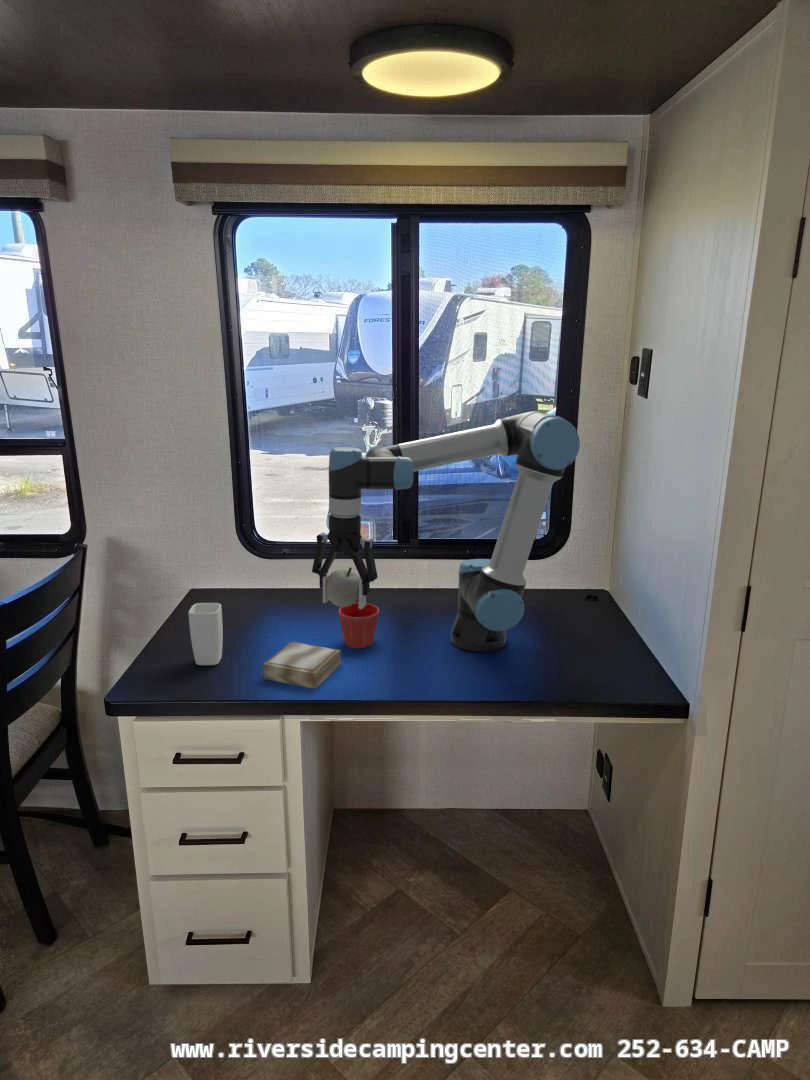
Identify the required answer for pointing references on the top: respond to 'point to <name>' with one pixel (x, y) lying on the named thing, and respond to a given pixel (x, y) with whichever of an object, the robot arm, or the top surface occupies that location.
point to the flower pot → (359, 624)
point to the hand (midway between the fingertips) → (344, 604)
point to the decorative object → (343, 587)
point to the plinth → (302, 665)
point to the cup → (206, 633)
